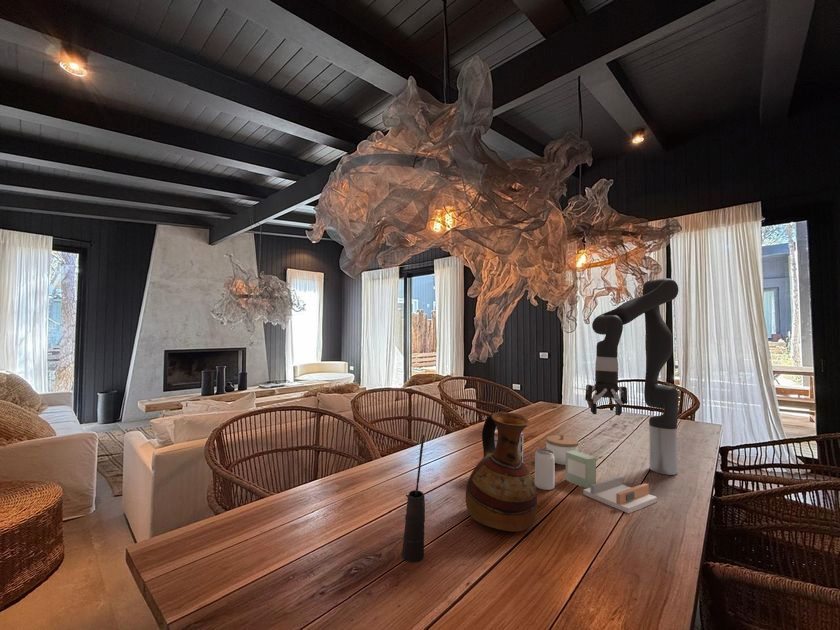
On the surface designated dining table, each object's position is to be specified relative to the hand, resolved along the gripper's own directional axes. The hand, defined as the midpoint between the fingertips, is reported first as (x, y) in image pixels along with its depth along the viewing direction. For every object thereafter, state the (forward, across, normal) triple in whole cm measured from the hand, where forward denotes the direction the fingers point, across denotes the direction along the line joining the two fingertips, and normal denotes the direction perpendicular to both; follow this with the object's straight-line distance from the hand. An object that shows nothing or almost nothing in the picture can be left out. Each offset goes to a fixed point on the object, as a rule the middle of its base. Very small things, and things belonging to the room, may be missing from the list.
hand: (605, 414), depth 138 cm
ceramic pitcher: (+27, +44, +30) cm, 59 cm away
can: (+25, +23, +6) cm, 35 cm away
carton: (+24, +9, +2) cm, 26 cm away
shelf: (+24, +2, +13) cm, 28 cm away
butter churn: (+28, +68, +49) cm, 89 cm away
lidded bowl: (+24, +8, -20) cm, 32 cm away
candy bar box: (+25, +35, -1) cm, 43 cm away
